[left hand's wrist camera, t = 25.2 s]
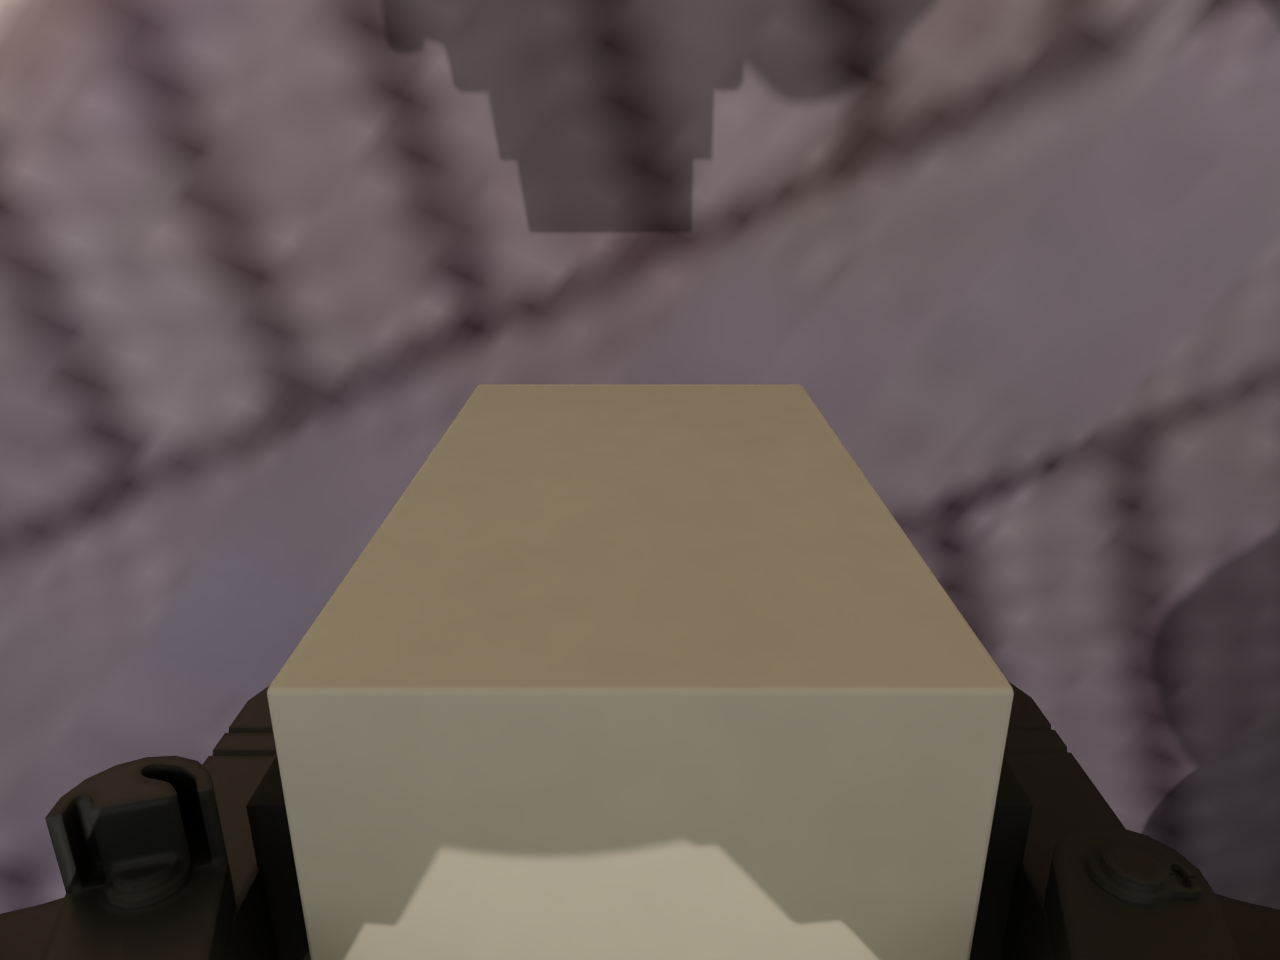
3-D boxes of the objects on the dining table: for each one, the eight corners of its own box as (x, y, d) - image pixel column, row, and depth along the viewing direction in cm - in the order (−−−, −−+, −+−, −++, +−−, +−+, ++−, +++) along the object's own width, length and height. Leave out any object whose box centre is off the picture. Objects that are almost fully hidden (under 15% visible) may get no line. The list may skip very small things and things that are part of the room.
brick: (802, 384, 15) (1017, 690, 7) (782, 687, 17) (926, 1226, 9) (477, 383, 15) (262, 690, 7) (496, 686, 17) (352, 1227, 9)
